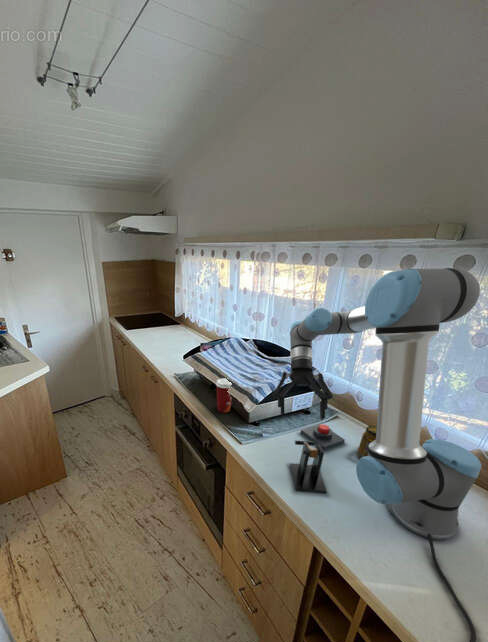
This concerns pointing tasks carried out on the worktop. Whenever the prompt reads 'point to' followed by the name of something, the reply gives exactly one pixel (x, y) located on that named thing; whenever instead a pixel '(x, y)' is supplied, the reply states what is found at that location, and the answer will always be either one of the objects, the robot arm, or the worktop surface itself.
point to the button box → (322, 437)
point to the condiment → (366, 441)
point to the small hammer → (312, 450)
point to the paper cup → (223, 395)
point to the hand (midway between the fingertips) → (302, 417)
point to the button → (323, 429)
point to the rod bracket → (308, 472)
